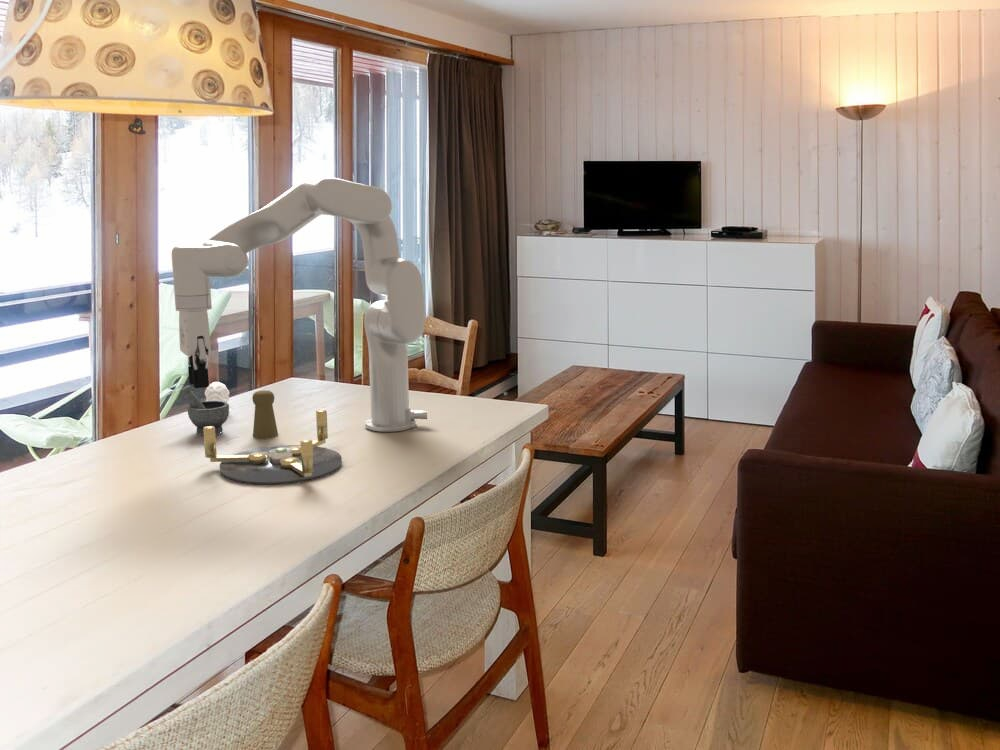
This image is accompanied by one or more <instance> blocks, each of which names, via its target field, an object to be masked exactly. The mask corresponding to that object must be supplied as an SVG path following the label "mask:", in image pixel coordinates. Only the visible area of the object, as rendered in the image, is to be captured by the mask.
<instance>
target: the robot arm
mask: <svg viewBox="0 0 1000 750" xmlns="http://www.w3.org/2000/svg"><path fill="white" fill-rule="evenodd" d="M392 206H393V203H392V200H391V198H390V195H389V194H388V193H387V192H386V191H385V190H384V189H382V188H380V187H377V186H373V185H368V184H364V183H359V182H354V181H350V180H345V179H341V178H338V177H333V176H332V177H331V176H310V177H307V178H305V179H303V180H301V181H300V182H298V183H297V184H295V185H294V186H292V187H290V189H288V190H287V191H285V192H284V193H283V194H281V195H280V196H278V197H277V198H275V199H274V200H273V201H271V202H269V203H268V204H267V205H265V206H263V207H262V208H260V209H259V210H256V211H255V212H252V213H250V214H249V215H247V216H245V217H243V218H241V219H239V220H237V221H236V222H234V223H232V224H229V225H228V226H226V227H224V228H223V229H222V230H220V231H219V232H217V233H216V234H215V235H213V236H212V237H210V238H209V239H208V240H206V241H205V242H204V243H203V244H202V245H201V244H181V245H176V246H174V247H173V248H172V249H171V268H172V277H173V278H172V280H173V293H174V306H175V311H176V312H177V311H178V329H179V330H178V335H179V337H178V338H179V350H180V353H181V352H182V353H183V355H186V357H187V365H188V366H187V371H188V372H187V373H188V383H189V384H190V385H193V388H194V389H201V388H207V387H209V385H210V379H209V368H208V367H209V366H208V360H207V359H208V357H207V356H209V355H210V354H211V352H212V351H211V335H210V333H211V332H210V323H209V314H208V311H209V310H211V309H212V307H213V305H212V293H211V289H212V288H211V278H225V279H226V278H227V279H231V278H235V277H238V276H241V275H242V274H243V273H244V272H245V271H246V269H247V268H248V266H249V265H248V264H249V257H248V254H249V253H250V252H252V251H254V250H256V249H259V248H261V247H266V246H269V245H274V244H277V243H280V242H282V241H285V240H287V239H289V238H290V237H291V236H293V235H295V234H296V233H297V232H298V231H300V230H301V229H303V228H304V227H305V226H306V225H308V224H309V223H311V222H312V221H313V220H315V219H316V218H318V217H319V216H321V215H327V216H333V217H336V218H341V219H344V220H346V221H348V222H350V223H351V225H353V226H354V227H355V228H356V230H357V231H358V233H359V235H360V237H361V238H360V239H361V242H362V248H363V250H362V251H363V260H364V274H365V282H366V286H367V288H368V290H370V291H371V292H372V293H374V294H376V295H379V296H383V297H387V299H382V300H376V301H374V302H373V303H372V304H370V305H369V306H368V308H367V309H366V311H365V313H364V318H363V323H364V331H365V337H366V340H367V347H368V348H367V349H368V362H369V364H368V365H369V390H370V391H369V392H370V393H369V394H370V396H369V398H370V413H371V414H370V417H371V418H369V419H367V420H366V421H365V423H364V426H365V428H366V429H367V430H370V431H374V432H382V433H383V432H384V433H387V432H388V433H389V432H390V433H392V432H400V431H407V430H410V429H413V428H415V426H417V425H416V423H417V421H416V420H428V411H424V410H414V409H412V408H411V407H412V405H411V404H410V397H409V395H410V393H409V357H408V350H407V345H408V344H409V345H410V344H413V343H415V342H416V341H418V340H419V339H420V338H421V337H422V335H423V333H424V331H425V330H424V329H425V325H426V312H425V310H426V309H425V297H424V296H425V295H424V294H425V293H424V283H423V277H422V274H421V272H420V270H419V268H418V266H417V265H416V264H415V263H414V262H412V260H411V261H410V259H409V260H408V259H407V258H401V256H400V248H399V242H398V241H399V240H398V233H397V230H396V226H395V224H394V222H393V220H392V218H391V216H390V215H391V211H392Z"/></svg>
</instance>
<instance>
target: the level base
mask: <svg viewBox="0 0 1000 750" xmlns="http://www.w3.org/2000/svg"><path fill="white" fill-rule="evenodd" d="M295 446H301V444H300V445H299V444H287V445H284V444H283V445H271V446H265V447H264V446H263V447H258V448H252V449H249V450H247V449H246V450H243V451H240V452H236V453H234V454H233V455H249V454H252V453H266V454H267V461H265V462H262V463H250V462H249V461H230V462H219V474H220V475H221V476H222V478H224V479H226V480H227V481H228V480H229V481H231V482H234V483H239V484H244V483H245V484H246V485H255V486H258V485H259V486H264V485H265V486H274V485H275V486H278V485H287V484H288V485H290V484H297V482H299V483H304V482H308V481H309V480H310V481H313V479H314V480H318V479H320V477H321V478H325V477H327V476H329V475H332V474H334V473H336V472H337V471H338V470H339V469H340V468H341V467H342V465H343V460H342V458H343V457H342V455H341V454H340V453H339V452H338V451H336V450H333V449H331V448H327V447H321V446H317V447H314V448H313V463H314V472H312V476H307V477H304V476H302V475H301V474H299V473H298V472H296V471H294V470H293V469H291V468H282V467H281V466H280V460H281V459H283V458H288V457H293V451H292V449H290V448H289V447H295ZM295 458H299V464H300V465H302V462H301V456H296V457H295ZM336 470H337V471H336ZM331 473H332V474H331ZM328 474H329V475H328ZM326 475H327V476H326ZM317 478H318V479H317Z"/></svg>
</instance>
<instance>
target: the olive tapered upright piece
mask: <svg viewBox="0 0 1000 750" xmlns="http://www.w3.org/2000/svg"><path fill="white" fill-rule="evenodd" d="M251 400H252V403H253V405H255V406H254V417H253V430H252V437H253V438H255V439H260V438H261V439H262V438H263V439H272V438H275V437H277V435H278V436H279V432H278V427H277V422H276V418H275V417H276V416H275V411H274V406H273V404H274V403H275V395H274V392H273V391H271V390H265V389H264V390H257V391H255V392H254V393H253V394H252V398H251Z"/></svg>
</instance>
